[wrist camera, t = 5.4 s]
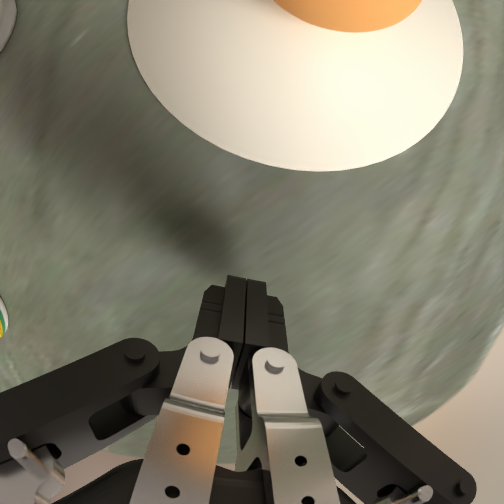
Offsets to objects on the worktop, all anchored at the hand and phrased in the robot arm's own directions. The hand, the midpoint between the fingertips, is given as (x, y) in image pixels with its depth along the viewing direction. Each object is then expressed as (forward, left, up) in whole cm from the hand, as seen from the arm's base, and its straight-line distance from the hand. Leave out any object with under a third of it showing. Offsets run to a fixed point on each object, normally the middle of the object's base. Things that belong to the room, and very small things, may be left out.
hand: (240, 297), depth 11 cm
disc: (0, +12, -2) cm, 12 cm away
